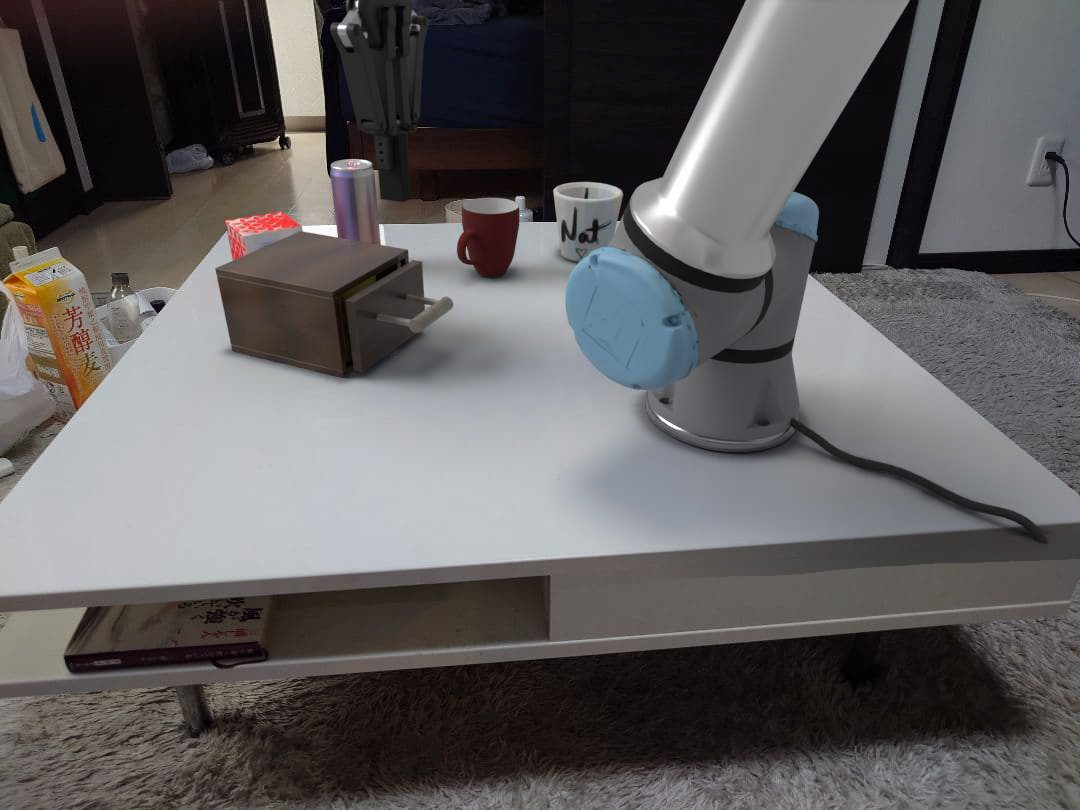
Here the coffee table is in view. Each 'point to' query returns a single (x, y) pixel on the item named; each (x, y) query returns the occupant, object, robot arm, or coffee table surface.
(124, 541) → the coffee table surface
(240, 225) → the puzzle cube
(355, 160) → the beverage can
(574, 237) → the mug
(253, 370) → the coffee table surface
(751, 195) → the robot arm
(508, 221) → the mug
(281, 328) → the cabinet
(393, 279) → the drawer
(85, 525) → the coffee table surface
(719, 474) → the coffee table surface
